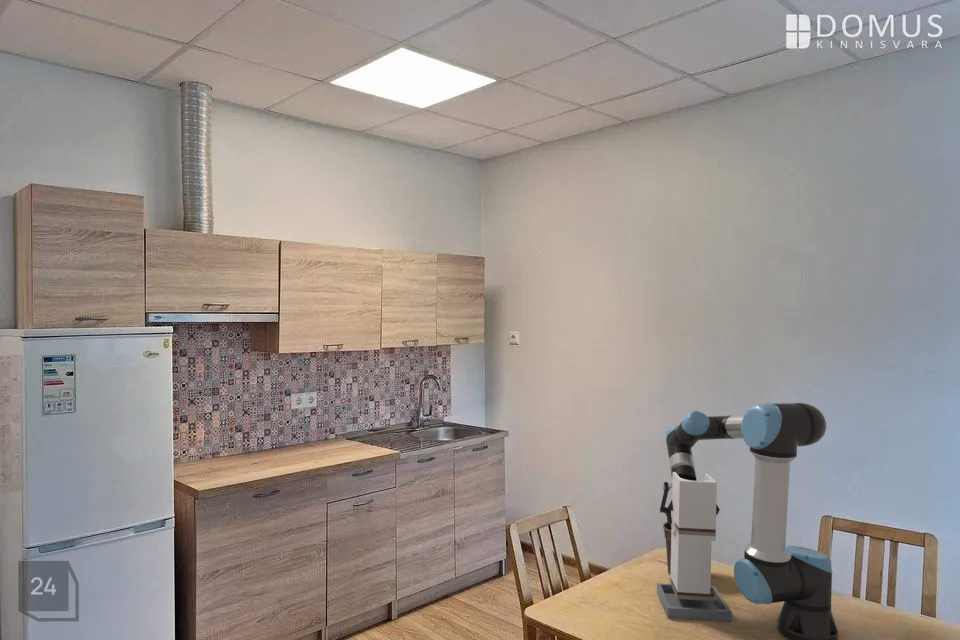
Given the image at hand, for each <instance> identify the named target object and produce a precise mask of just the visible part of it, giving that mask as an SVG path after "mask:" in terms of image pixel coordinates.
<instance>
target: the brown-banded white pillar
mask: <svg viewBox="0 0 960 640" xmlns="http://www.w3.org/2000/svg"><path fill="white" fill-rule="evenodd" d="M671 483H672V488H671V500H672V503H673V508H672V511H674V518H675V525H676V533H675V535H672V528H671V575H670V574H669V575H670V579H669V580H670V581H669V584H671V586H672V588H673V590H674V593H675V595H676V597H677V599H687V600H703V601H714V593H713V591H712V589H711V586H712V585H711V584H712V583H711V582H712V581H711V578H712V576H711V575H712V574H711V573H712V542H716V539H717V538H716V537H717V535H716V533H717V515H716V504H717V484H718V482H717V481H716V480H714V478H713V477H711V475H710V474H709V473H706V472H705V473H704V478H703V480H697V481H691V480H686V479H682V478H680V477H679V476H678V475H677V473H676V472H673V474H672V475H671Z"/></svg>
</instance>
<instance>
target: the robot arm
mask: <svg viewBox="0 0 960 640" xmlns="http://www.w3.org/2000/svg"><path fill="white" fill-rule="evenodd" d="M826 431H827V421H826V418H825V416H824V414H823V412H822V411H821V410H820V409H818V408H817V407H816V406H814V405H811V404H808V403H805V402H804V403H803V402H794V403H793V402H792V403H789V402H788V403H787V402H786V403H785V402H783V403H779V402H778V403H769V402H767V403H762V404H761V403H760V404H755V405H753V406H751V407H750V408H749V409H748V410H746V412H745V413H744V414H736V415H734V414H733V415H732V414H731V415H716V416H715V415H714V416H709V415H708V416H707V414H705V413H703V412H701V411H699V410H692V411H690V412H689V413H688V414H687V415H686V416H684V417H683V418H682V421H681V422H680V423H679V424H678V425H673V426H671V427H669V428H668V429H666V432H665V437H666V438H665V444H666V447H667V448H666V449H667V455H668V460H669V467H670V471H671V472H670V473H671V476H672V474H673V472H676V473H677V475H678V476H679V477H680V478H682V479H686V480H691V481H698V479H697V474H696V469H695V463H694V459H693V458H694V457H693V452H692V449H693V447H694V446H695V444H696V443H697V442H698V441H704V440H705V441H709V440H736V439H743V442H744V443H745V444H746V445H747V446H748V447H749V452H750V454H752V456H753V457H754V458H755V459H754V476H753V477H754V479H753V496H752V497H753V498H752V514H751V515H752V516H751V517H752V519H751V535H750V537H751V539H750V543H749V544H747V545H746V546H745V547H744V555H743V558H739V559H738V560H737V561H736V562H735V563H734V567H733V576H734V579H735V583H736V585H737V586H736V587H738V589H739V591H740V593H741V594H742V596H743V597H744V598H745V599H746V600H748V601H749V602H750V603H753V604H756V605H770V604H775V603H776V604H777V603H782V602H783V605H782V607H781V610H780V612H779V614H778V616H777V617H778V618H777V620H776V621H777V622H776V624H777V626H776V628H777V631H778V632H779V634H781V635H782V636H783V637H784V638H786V639H788V640H839V630H838V628H837V627H838V626H837V625H836V622H835V618H834V615H833V612H832V588H833V587H832V584H833V583H832V582H833V571H832V568H833V567H832V560H831V559H830V557H829V556H828V555H826V554H825V553H823V552H820V551H818V550H815V549H812V548H809V547H804V546H798V545H787V543H786V542H787V525H788V524H787V522H788V508H789V507H788V505H789V491H790V490H789V485H790V472H791V471H790V470H791V462H792V461H793V460H794V459H796V458H797V456H798V455H797V454H798V447H805V446H806V447H807V446H812V445H814V444H816V443H818V442H819V441H820V440H822V438H823V437H824V436H825V434H826ZM662 489H663V494H662V499H661V502H660V503H661V504H660V507H659V512H660V513H661V514H662V513H664V514H665V516H666V522H668V524H671V528H672V535H675V533H676V525H675V518H674V511H672V508H673V503H672V499H671V501H670V502H669V504H668V506H666V503H667V499H668V494H669V491H670V490H672V482H670V483H669V482H667V481H664V482H663V486H662ZM720 510H721V509H720V508H719V506H718V504H717V503H716V516H717V515H719V513H720ZM786 545H787V546H786Z"/></svg>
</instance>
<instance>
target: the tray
mask: <svg viewBox="0 0 960 640" xmlns="http://www.w3.org/2000/svg"><path fill="white" fill-rule="evenodd" d="M711 589H712V591H713V593H714V601H703V600H687V599H677V597H676V595H675V593H674V590H673V588H672V586H671V584H670V583H656V595H657V597H658V599H659V601H660V604H661V606H662V608H663V611H664V613H665V616H666V618H667V619H668V620H669V619H671V620H672V619H673V620H686V621H687V620H688V621H689V620H690V621H691V620H693V621H708V622H727V623H728V622H729V623H732V610H731V609H730V607H729V606H728V604H727V602H726V601H725V599H724V597H723V596H722V595H721V594H720V592H719V590H718V589H717V588H716V585H711Z"/></svg>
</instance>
